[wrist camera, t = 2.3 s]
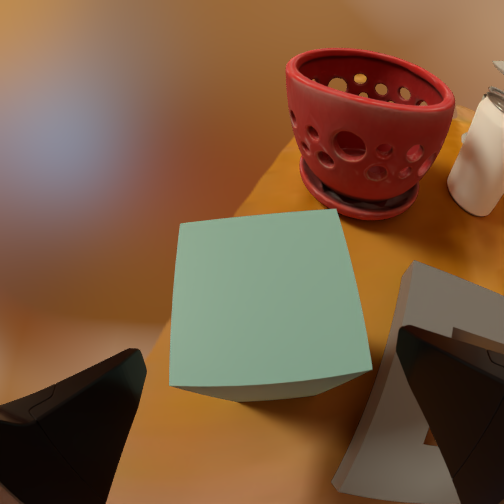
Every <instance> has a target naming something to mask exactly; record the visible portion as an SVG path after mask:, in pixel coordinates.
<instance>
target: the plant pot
mask: <svg viewBox="0 0 504 504" xmlns="http://www.w3.org/2000/svg"><path fill="white" fill-rule="evenodd" d="M356 74H364V75H365V76H366V77H367V80H366V82H365V83H364V84H358V83H356V82H355V81H354V76H355V75H356ZM333 78H342V79H343V80H345V82H346V83H347V89H346V92H343V91H339V90H335V89H333V88H330V87H328V84H329V82H330V81H331V80H332V79H333ZM312 79H315V81H312ZM377 84H384V85H385V86H386V87H387V89H388V90H387V93H386V94H385V95H380V94H378V93H377V92H376V90H375V87H376V85H377ZM286 85H287V86H286V87H287V97H288V107H289V113H290V118H291V123H292V128H293V131H294V135H295V139H296V142H297V144H298V147H299V149H300V152H301V154H302V156H301V159H300V174H301V177H302V180H303V182H304V184H305V186H306V188H307V189H308V190H309V192H310V193H311V194H312V195H313V196H314V197H315V198H316V199H317V200H318V201H319V202H321V203H322V204H324V205H325V206H327V207H328V208H330V209H337V212H338V213H340V214H342V215H345V216H349V217H352V218H357V219H362V220H382V219H387V218H391V217H394V216H397V215H399V214H401V213H403V212H405V211H406V210H407V209H409V208H410V207H411V205H412V204H413V203H414V201H415V200H416V198H417V195H418V192H419V180H420V179H421V178H422V177H423V176H424V175H425V174H426V172H427V171H428V170H429V168H430V167H431V165H432V164H433V162H434V161H435V159H436V157H437V155H438V154H439V152H440V150H441V148H442V145H443V143H444V141H445V138H446V136H447V133H448V130H449V127H450V124H451V121H452V117H453V112H454V108H455V98H454V95H453V93H452V92H451V90H450V89H449V88H448V87H447V86H446V84H445V83H443V82H442V81H441V80H440V79H439V78H437V77H436V76H434V75H433V74H431V73H430V72H428V71H426V70H425V69H423V68H421V67H419V66H417V65H414V64H412V63H410V62H407V61H405V60H402V59H400V58H397V57H393V56H390V55H386V54H382V53H377V52H373V51H367V50H360V49H351V48H325V49H316V50H311V51H307V52H304V53H302V54H299V55H297V56H295V57H293V58H292V59H291V60H290V61H289V62H288V63H287V65H286ZM402 87H403V88H406V89H408V90H409V92H410V94H411V97H410V99H409V100H405V99H404V98H403V97H402V96H401V94H400V89H401V88H402ZM361 92H365V93H367V95H368V98H366V97H362V96H359V94H360V93H361ZM389 101H393V102H394V103H390V102H389ZM423 101H425V102H426V103H427V105H428V106H419V105H420V104H421V102H423Z"/></svg>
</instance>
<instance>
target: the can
mask: <svg viewBox="0 0 504 504" xmlns="http://www.w3.org/2000/svg"><path fill="white" fill-rule="evenodd" d="M447 184H448V189H449V192H450V194H451V196H452V198H453V199H454V200H455V202H456V203H457V204H458V205H459V206H460V207H461V208H462V209H464V210H465V211H466V212H468V213H470V214H472V215H475V216H487V215H488V214H489V213H490V212H491V211H492V210H493V208H494V207H495V205H496V204H497V203H498V201H499V200H500V198H501V197H502V195H503V194H504V97H502V96H500V95H498V94H496V93H493V92H487V96H486V98H485V99H483V100H482V101H481V102H480V103H479V105H478V107H477V110H476V113H475V115H474V118H473V121H472V123H471V126H470V128H469V131H468V133H467V136H466V138H465V140H464V143H463V145H462V148H461V150H460V152H459V154H458V157H457V159H456V161H455V163H454V165H453V168H452V170H451V172H450V174H449V176H448V179H447Z"/></svg>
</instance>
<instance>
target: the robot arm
mask: <svg viewBox="0 0 504 504" xmlns="http://www.w3.org/2000/svg"><path fill="white" fill-rule="evenodd" d="M396 353H397V356H398V358H399V361H400V363H401V366H402V368H403V371H404V374H405V376H406V379H407V382H408V384H409V386H410V388H411V391H412V393H413V394H414V396H415V398H416V400H417V402H418V404H419V406H420V409H421V411H422V413H423V415H424V417H425V419H426V421H427V423H428V425H429V427H430V429H431V432H432V434H433V436H434V438H435V440H436V443H437V445H438V447H439V449H440V452H441V454H442V456H443V459H444V461H445V463H446V466H447V468H448V471H449V473H450V476H451V478H452V481H453V484H454V486H455V489H456V492H457V494H458V497H459V500H460V503H461V504H504V354H502V353H498V352H495V351H492V350H488V349H487V350H486V349H485V348H482V347H479V346H475V345H472V344H469V343H466V342H463V341H459V340H456V339H453V338H450V337H447V336H444V335H441V334H438V333H434V332H431V331H428V330H425V329H422V328H419V327H416V326H413V325H406V326H401V327H400V328H399V331H398V337H397V343H396ZM146 374H147V369H146V365H145V362H144V359H143V356H142V354H141V351H140V350H139V349H136V348H129V349H127V350H124V351H122V352H120V353H118V354H116V355H114V356H112V357H110V358H108V359H106V360H104V361H102V362H100V363H98V364H96V365H94V366H92V367H90V368H87V369H85V370H83V371H81V372H79V373H77V374H75V375H73V376H71V377H69V378H67V379H64V380H62V381H60V382H58V383H56V384H54V385H51V386H49V387H47V388H45V389H43V390H40V391H38V392H36V393H33V394H30V395H28V396H25V397H23V398H20V399H17V400H14V401H12V402H9V403H6V404H3V405H0V504H106V501H107V498H108V494H109V491H110V488H111V485H112V482H113V478H114V475H115V472H116V469H117V466H118V463H119V460H120V457H121V454H122V451H123V448H124V445H125V443H126V440H127V437H128V434H129V431H130V428H131V426H132V423H133V420H134V417H135V415H136V412H137V409H138V406H139V402H140V398H141V394H142V390H143V386H144V382H145V378H146Z"/></svg>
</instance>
